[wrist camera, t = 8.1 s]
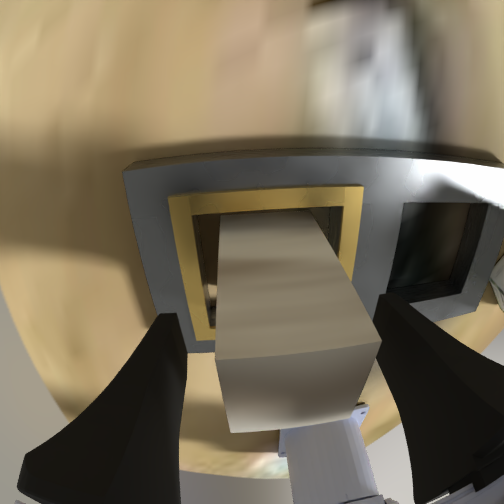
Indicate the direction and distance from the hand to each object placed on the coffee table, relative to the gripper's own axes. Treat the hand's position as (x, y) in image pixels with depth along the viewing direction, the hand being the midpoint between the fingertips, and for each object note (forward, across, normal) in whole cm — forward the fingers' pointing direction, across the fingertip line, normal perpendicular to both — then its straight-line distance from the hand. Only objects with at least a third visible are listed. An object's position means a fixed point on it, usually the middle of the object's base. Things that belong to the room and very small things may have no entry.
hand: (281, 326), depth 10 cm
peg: (+5, 0, 0) cm, 5 cm away
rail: (+5, -4, 0) cm, 7 cm away
